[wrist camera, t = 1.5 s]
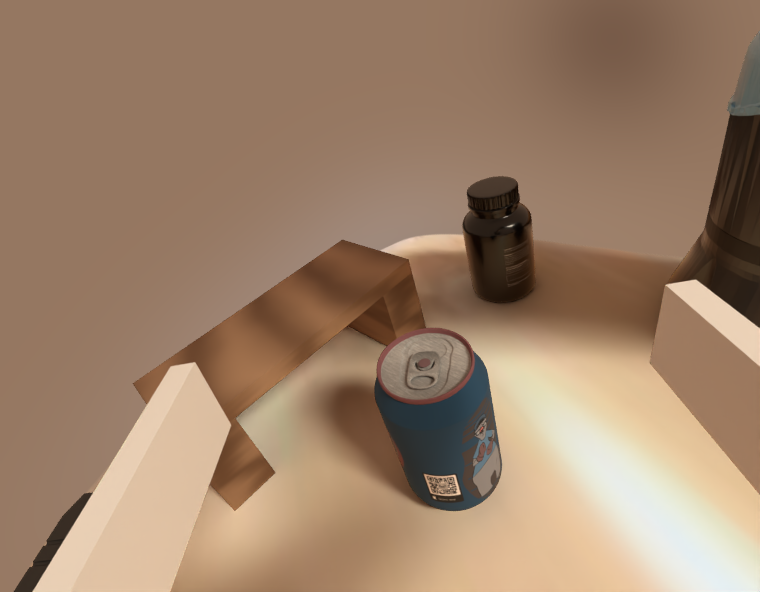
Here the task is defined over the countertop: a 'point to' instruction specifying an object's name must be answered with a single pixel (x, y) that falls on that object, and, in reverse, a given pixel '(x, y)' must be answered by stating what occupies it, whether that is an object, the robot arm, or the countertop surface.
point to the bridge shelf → (292, 342)
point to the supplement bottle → (499, 240)
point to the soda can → (440, 417)
